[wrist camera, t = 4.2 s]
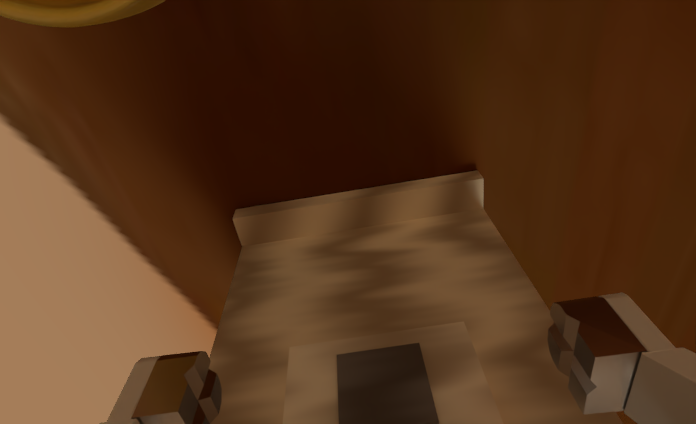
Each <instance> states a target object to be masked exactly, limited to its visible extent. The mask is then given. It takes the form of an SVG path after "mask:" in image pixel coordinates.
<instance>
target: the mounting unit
mask: <svg viewBox="0 0 696 424" xmlns="http://www.w3.org/2000/svg"><path fill="white" fill-rule="evenodd" d="M483 180H484V178H483V177H482V176H481V174H480V173H479V172H478V170H477V171H470V172H464V173H458V174H452V175H446V176H439V177H433V178H427V179H421V180H415V181H408V182H402V183H396V184H390V185H384V186H378V187H371V188H365V189H359V190H353V191H347V192H340V193H334V194H328V195H322V196H316V197H309V198H303V199H297V200H291V201H285V202H278V203H272V204H266V205H260V206H254V207H247V208H241V209H236V210H235V213H234V216H233V218H232V219H233V222H234V225H235V228H236V231H237V234H238V237H239V239H240V242H241V245H242V249H241V252H240V255H239V259H238V262H237V266H236V269H235V273H234V276H233V279H232V283H231V286H230V290H229V293H228V296H227V300H226V303H225V307H224V310H223V313H222V317H221V320H220V324H219V327H218V331H217V334H216V338H215V341H214V344H213V348H212V351H211V354H210V358H209V359H210V360H211V362H210V366H209V369H210V370H212V371H213V372H215V373H217V375H218V377H219V380H220V383H221V388H222V402H221V407H220V411H219V414H218V416H217V417H216V418H215V419H214V420H213V421H212V422H211V423H210V424H623V423H622V421H621V420H620V418H619V417H618V415H617V414H616V412H605V413H594V414H584V415H583V413H582V412H581V410H580V408H579V406H578V405H577V403H576V401H575V399H574V398H573V396H572V394H571V392H570V391H569V389H568V383H569V377H568V376H566V375H565V374H563V373H562V372H560V371H559V370H558V369H557V367H556V365H555V363H554V362H553V359H552V357H551V354H550V352H549V346H548V341H547V337H548V329H549V328H550V327H551V326H552V325H553V324H554V321H553V319H552V318H551V316H550V311H549V309H548V308H547V306H546V305H545V303H544V301H543V300H542V298H541V297H540V295H539V294H538V292H537V291H536V289H535V288H534V286H533V284H532V283H531V281H530V280H529V278H528V277H527V275H526V274H525V272H524V271H523V269H522V268H521V266H520V264H519V263H518V261H517V260H516V258H515V257H514V255H513V254H512V252H511V251H510V249H509V248H508V246H507V244H506V243H505V241H504V240H503V238H502V237H501V235H500V234H499V232H498V231H497V229H496V228H495V226H494V224H493V223H492V221H491V220H490V218H489V217H488V215H487V214H486V212H485V211H484V209H483Z"/></svg>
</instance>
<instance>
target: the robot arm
mask: <svg viewBox="0 0 696 424" xmlns="http://www.w3.org/2000/svg"><path fill="white" fill-rule="evenodd" d="M550 316H551V318H552V319H553V321H554V324H553V325H552V326H551V327H550V328H549V329H548V337H547V341H548V346H549V352H550V354H551V357H552V359H553V362H554V363H555V365H556V367H557V369H558V370H559V371H560V372H562V373H563V374H565V375H566V376H568V377H569V383H568V389H569V391H570V392H571V394H572V396H573V398H574V399H575V401H576V403H577V405H578V406H579V408H580V410H581V412H582V413H583V415H584V414H594V413H605V412H615V411H624V413H625V414H626V415H628V416H629V417H630V418H632V419H633V420H634V421H635V422H637V423H638V424H696V353H693V352H691V351H689V350H687V349H685V348H675V347H674V346H673V345H672V343H671V342H670V341H669V340H668V339H667V338H666V337H665V336H664V335H663V334H662V332H661V331H660V330H659V329H658V328H657V327H656V326H655V325H654V324H653V323H652V321H651V320H650V319H649V318H648V317H647V316H646V315H645V314H644V313H643V312H642V310H641V309H640V308H639V307H638V306H637V305H636V304H635V303H634V302H633V301H632V299H631V298H630V297H629V296H628V295H626V294H624V293H616V294H610V295H603V296H598V297H597V296H595V297H588V298H581V299H575V300H568V301H561V302H554V303H553V305H552V306H551V311H550ZM210 362H211V360H210V359H209V357H208V355H207V353H206V352H203V351H199V352H190V353H181V354H172V355H163V356H157V357H148V358H141V359H140V360H139V361H138V362H137V363H136V364H135V365H134V368H133V369H132V372H131V373H130V376H129V378H128V380H127V382H126V384H125V386H124V388H123V390H122V392H121V394H120V396H119V398H118V400H117V402H116V404H115V406H114V408H113V410H112V412H111V414H110V416H109V418H108V420H107V422H105V423H100V424H210V423H211V422H212V421H213V420H214V419H215V418H216V417H217V416H218V414H219V411H220V407H221V402H222V388H221V383H220V380H219V377H218V375H217V373H215V372H213V371H212V370H210V369H209V366H210Z"/></svg>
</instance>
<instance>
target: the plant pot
mask: <svg viewBox="0 0 696 424" xmlns="http://www.w3.org/2000/svg"><path fill="white" fill-rule="evenodd" d="M164 1H165V0H0V16H3V17H5V18H9V19H12V20H16V21H20V22H23V23H29V24H34V25H40V26H49V27H81V26H90V25H96V24H102V23H107V22H112V21H116V20H119V19H123V18H127V17H130V16H133V15H136V14H139V13H141V12H144V11H146V10H149V9H151V8H153V7H155V6H157V5H159V4H160V3H162V2H164Z"/></svg>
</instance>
